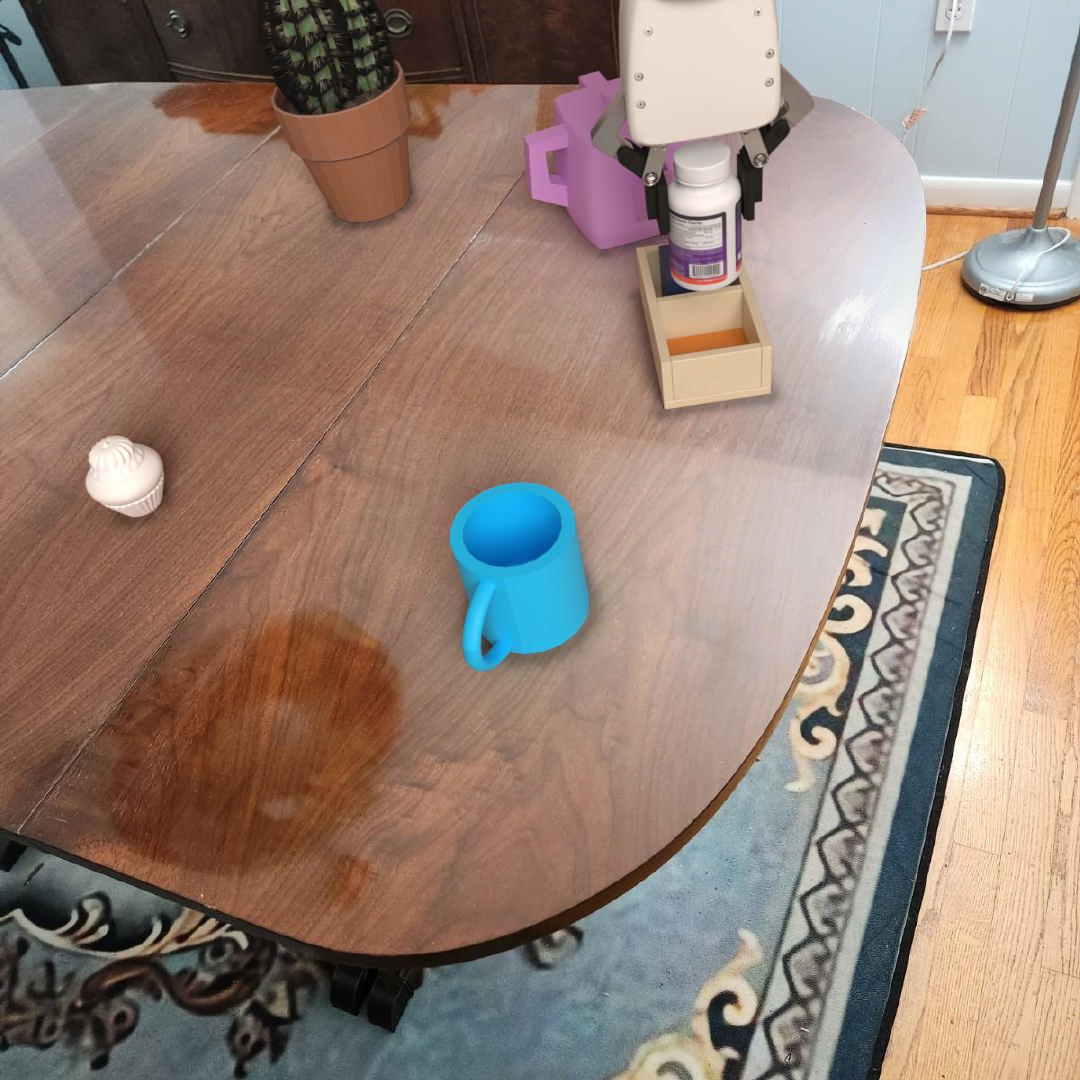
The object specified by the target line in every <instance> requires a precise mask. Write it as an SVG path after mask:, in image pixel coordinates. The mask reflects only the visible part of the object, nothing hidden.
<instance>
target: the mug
mask: <svg viewBox="0 0 1080 1080" xmlns="http://www.w3.org/2000/svg"><path fill="white" fill-rule="evenodd" d="M449 530H450V531H449V546H450V549H451V552H452V555H453V558H454V561H455V564H456V566H457V569H458V573H459V576H460V578H461V579H460V580H461V582H462V585H463V588H464V591H465V594H466V597H467V600H468V607H467V609H466V614H465V619H464V624H463V628H462V639H461V646H462V654H463V659H464V661H465V662H466V663H467V665H468V666H469V668H470V669H472V670H473V671H477V672H489V671H492V670H493V669H495V668H497V667H498V666H500V665H501V663H502V662H503V661H504V660H505V659H506V658H507V656H509V654H510V653H514V654H521V655H530V654H537V653H543V652H547V651H550V650H551V649H554V648H556V647H559V646H561V645H563V644H564V643H566V642H567V641H568V640H569V639H571V638H572V637H573V636H575V635H577V633H578V631H579V630H580V628H581V627H582V625H583V624H584V623H585V622H586V619H587V616H588V613H589V609H590V606H591V602H590V593H589V586H588V581H587V576H586V572H585V565H584V560H583V555H582V549H581V544H580V537H579V533H578V528H577V522H576V517H575V512H574V510H573V508H572V506H571V505H570V503H569V501H568V499H567V498H565V497H564V496H563V495H562V494H560V493H559V492H558V491H556V490H555V489H553V488H551V487H548V486H545V485H542V484H540V483H533V482H523V481H522V482H521V481H518V482H510V483H503V484H500V485H497V486H494V487H491V488H488V489H486V490H483V491H482V492H479V494H477V495H475V496H474V497H473V498H470V499H469V500H468V501H467V502H466V503H465V504H464V506H462V508H461V509H460V510H459V511H458V512H457V513H456V514H455V517H454V519H453V522H452V524H451V526H450V528H449ZM482 636H483V637H484V638H485V639H486V640H487V642H489V643H490V644H491V645H492V647H491V648H490V649H489V650H488V651H487V652H486V653H485V654H484V655H483V654H482Z"/></svg>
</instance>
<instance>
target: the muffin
mask: <svg viewBox="0 0 1080 1080" xmlns="http://www.w3.org/2000/svg"><path fill="white" fill-rule="evenodd" d="M87 457H88V463H89V469H88V471H87V474H86V476H85V488H86V491H87V493H88V495H89V496H90V497H91V498H92V500H95V502H98V503H100V504H101V505H103V506H105V507H106V508H107V509H110V510H113V511H115V512H117V513H119V514H122V515H124V516H128V517H131V518H141V517H144V516H148V515H149V514H151V513H152V512H154V511H156V509H158V507H159V506H160V504H162V501H163V492H164V483H165V482H164V480H165V478H164V477H165V472H164V464H163V460H162V458H161V455H160V453H158V452H157V451H156V450H155V449H153V448H152V447H151V446H148V445H145V444H141V443H136V442H135V443H134V442H133V441H131V439H129V438H128V437H125V436H122V435H117V434H115V435H108V436H106V437H105V438H101V439H100V441H96V442H95V445H92V447H91V449H90V451H89V452H88V456H87Z"/></svg>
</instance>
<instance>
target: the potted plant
mask: <svg viewBox="0 0 1080 1080" xmlns="http://www.w3.org/2000/svg"><path fill="white" fill-rule="evenodd" d="M256 16H257V17H256V19H257V36H258V41H259V43H260V45H261V49H262V51H263V53H264V57H265V59H266V62H267V65H268V67H269V71H270V74H271V75H272V78H273V81H274V84H275V86H276V87H275V88H274V89H273V91H272V94H271V97H270V102H271V106H272V109H273V111H274V114H275V116H276V119H277V121H278V123H279V125H280V128H281V130H282V133H283V135H284V137H285V140H286V142H287V145H288V147H289V150H290V151H291V152H292V153H293V154H295V155H296V156H297V157H299V158H301V160H302V162H303V164H304V165H305V167H306V168H307V170H308V172H309V174H310V175H311V177H312V179H313V180H314V182H315V184H316V186H317V187H318V189H319V191H320V192H321V194H322V196H323V198H324V199H325V201H326V203H327V204H328V206H329V208H330V209H331V211H332V213H333V215H335V217H337V218H338V219H339V220H342V221H345V222H349V223H361V224H362V223H369V222H370V223H371V222H375V221H378V220H381V219H384V218H387V217H388V216H391V215H393V214H395V213H397V212H398V211H399V210H400V209H402V208H403V207H404V206H405V205H406V204H407V202H408V201H409V200H410V199H411V193H412V185H411V184H412V183H411V169H410V153H409V137H408V135H409V134H408V128H409V126H410V125H411V121H412V116H413V114H412V109H411V106H410V105H411V103H410V99H409V93H408V89H407V84H406V79H405V75H404V69H403V68H402V66H401V64H400V62H399V61H397V60H396V59H394V54H393V50H392V45H391V40H390V37H389V31H388V25H387V22H386V19H385V17H384V15H383V13H382V11H381V10H380V8H379V6H378V4H377V3H376V0H256Z"/></svg>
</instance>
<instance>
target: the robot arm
mask: <svg viewBox="0 0 1080 1080" xmlns="http://www.w3.org/2000/svg"><path fill="white" fill-rule="evenodd" d="M776 1H777V0H619V6H618V7H619V8H618V56H619V59H618V61H619V78H620V83H621V87H620V89H619V90H618V92H617V93H616V95H615V96H614V97H613V99H612V100H611V102H610V103H609V105H608V106H607V108H606V109H605V111H604V112H603V114H602V115H601V116H600V118H599V119H598V121H597V122H596V124H595V125H594V127H593V128H592V130H591V132H590V135H591V141H592V144H593V146H594V147H595V148H597V149H598V150H600V151H602V152H603V153H605V154H607V155H608V156H610V157H612V158H615V159H616V160H618V161H619V163H620V164H621V165H622V166H624V167H625V168H627V169H628V170H630V171H631V172H632V173H634V174H635V175H637V176H638V177H640V178H641V179H642V181H643V183H644V186H645V199H646V210H647V216H648V220H653V219H657V223H658V227H659V231H660V235H659V236H666V235H668V232H670V218H669V202H668V187H667V182H666V179H665V175H664V171H663V164H664V161H665V157H666V154H667V150H668V147H669V144H674V143H680V142H686V141H693V140H699V139H704V138H710V137H711V138H715V137H721V136H728V135H733V134H738V133H739V134H740V137H741V139H742V142H743V145H742V146H741V147H740V148H739V149H738V153H736V177H737V178H738V180H739V182H740V185H741V201H742V204H741V209H742V218H743V220H744V221H745V220H746V222H750V221H755V219H756V218H755V216H756V203H761V202H763V192H764V191H763V190H764V188H763V186H764V185H763V181H764V180H763V179H764V167H765V166H766V165H767V164H768V163H769V160H770V156H771V154H772V153H774V151H775V150H776V149H777V148H778V147H779V146H780V145H781V144H782V143H783V141H784V140H785V139H786V138H788V136H789V134H790V133H791V130H792V129H793V128H794V127H796V126H798V125H799V123H801V122H802V120H803V119H804V118H805V117H807V115H809V114H810V113H811V112H812V111H813V109H814V108H815V100H814V99H813V96H812V94H811V93H810V91H809V90H807V88H805V86H804V85H803V84H801V82H800V81H798V79H796V77H794V76H793V74H791V73H790V72H789V70H788V69H787V68H786V67H784V66H783V65H782V63H781V55H780V54H781V53H780V37H779V36H780V35H779V21H778V12H777V11H778V10H777V2H776ZM781 98H782V99H783V100H784V102H783V104H782V105H781ZM626 120H627V124H628V126H629V132H630V136H631V138H632V140H633V141H634V142H635V143H636V144H639V145H641V147H639V146H638V145H636V144H635V143H634V142H632V141H631V140H629V139H627V138H623V137H621V135H619V134H618V131H619V130H620V128H621V127H622V125H623V124H624V122H625V121H626Z"/></svg>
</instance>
